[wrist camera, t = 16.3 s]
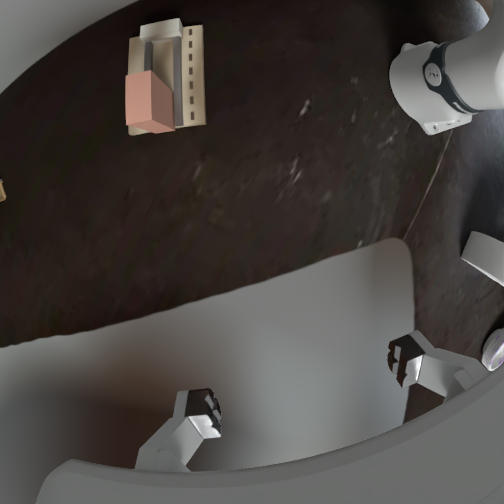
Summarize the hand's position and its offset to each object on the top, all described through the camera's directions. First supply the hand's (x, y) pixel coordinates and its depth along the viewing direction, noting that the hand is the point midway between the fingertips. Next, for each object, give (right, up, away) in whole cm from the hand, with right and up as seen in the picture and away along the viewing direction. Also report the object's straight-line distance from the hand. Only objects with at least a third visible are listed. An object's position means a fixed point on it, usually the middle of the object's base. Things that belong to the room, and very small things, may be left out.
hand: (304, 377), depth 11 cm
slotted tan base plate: (-16, +33, +24) cm, 43 cm away
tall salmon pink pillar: (-15, +26, +24) cm, 39 cm away
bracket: (+53, +5, +38) cm, 66 cm away
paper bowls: (+79, -25, +50) cm, 97 cm away
